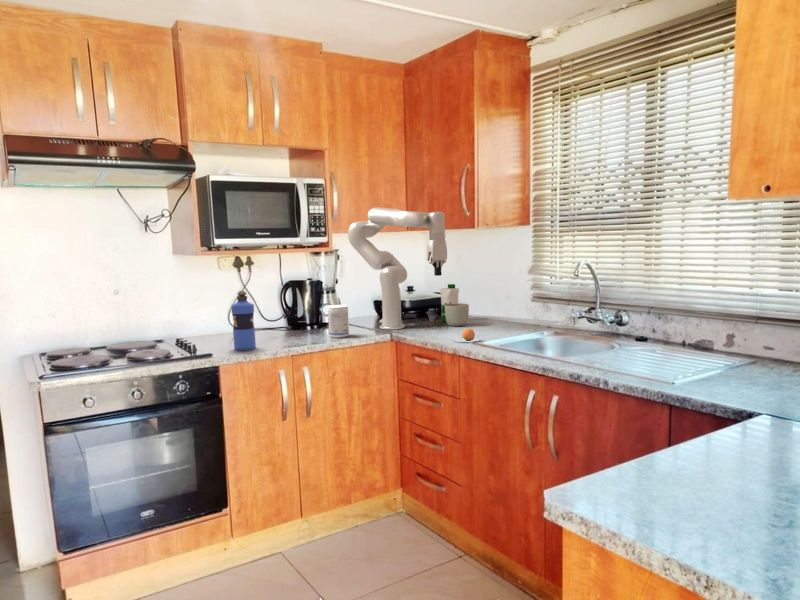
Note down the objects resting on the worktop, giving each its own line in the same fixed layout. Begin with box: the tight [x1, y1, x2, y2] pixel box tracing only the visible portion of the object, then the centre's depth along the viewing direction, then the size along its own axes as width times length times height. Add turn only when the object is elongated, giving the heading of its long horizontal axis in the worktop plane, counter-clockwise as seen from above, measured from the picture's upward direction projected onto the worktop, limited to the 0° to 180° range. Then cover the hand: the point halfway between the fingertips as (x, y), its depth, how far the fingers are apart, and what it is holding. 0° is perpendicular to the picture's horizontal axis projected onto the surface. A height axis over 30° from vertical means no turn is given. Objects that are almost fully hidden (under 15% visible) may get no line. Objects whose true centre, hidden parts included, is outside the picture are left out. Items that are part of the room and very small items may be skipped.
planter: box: [445, 302, 470, 327], centre depth 293 cm, size 12×12×11 cm
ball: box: [461, 328, 476, 341], centre depth 249 cm, size 6×6×6 cm
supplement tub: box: [327, 304, 350, 339], centre depth 269 cm, size 10×10×15 cm
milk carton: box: [439, 283, 460, 322], centre depth 308 cm, size 9×9×20 cm
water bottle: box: [230, 290, 257, 352], centre depth 244 cm, size 9×9×25 cm
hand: (437, 275), depth 277 cm, fingers closed
